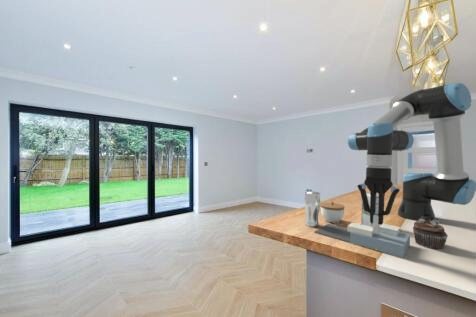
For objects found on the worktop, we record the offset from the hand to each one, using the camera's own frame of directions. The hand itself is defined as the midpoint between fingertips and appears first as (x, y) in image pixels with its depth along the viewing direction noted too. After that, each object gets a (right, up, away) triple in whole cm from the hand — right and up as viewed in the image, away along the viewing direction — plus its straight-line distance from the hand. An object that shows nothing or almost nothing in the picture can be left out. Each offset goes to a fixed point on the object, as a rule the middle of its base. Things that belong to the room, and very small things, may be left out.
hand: (376, 232), depth 78 cm
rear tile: (+6, -1, +4) cm, 8 cm away
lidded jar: (-4, -4, +28) cm, 29 cm away
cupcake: (+21, -6, +2) cm, 22 cm away
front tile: (-3, -1, +3) cm, 5 cm away
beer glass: (-16, -4, +22) cm, 27 cm away
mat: (-8, -5, +13) cm, 16 cm away
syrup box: (+12, -5, +23) cm, 26 cm away
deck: (+3, -5, +2) cm, 6 cm away
